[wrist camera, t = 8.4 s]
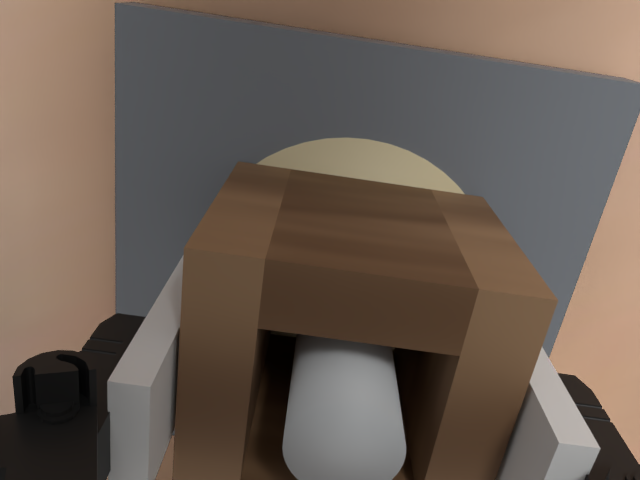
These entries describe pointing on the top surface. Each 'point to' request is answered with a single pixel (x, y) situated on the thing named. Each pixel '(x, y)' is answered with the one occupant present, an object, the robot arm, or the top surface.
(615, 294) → the top surface
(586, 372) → the top surface
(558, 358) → the top surface
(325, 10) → the top surface
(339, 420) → the post block
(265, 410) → the collar
